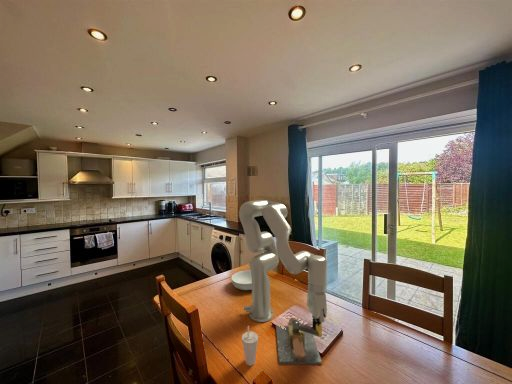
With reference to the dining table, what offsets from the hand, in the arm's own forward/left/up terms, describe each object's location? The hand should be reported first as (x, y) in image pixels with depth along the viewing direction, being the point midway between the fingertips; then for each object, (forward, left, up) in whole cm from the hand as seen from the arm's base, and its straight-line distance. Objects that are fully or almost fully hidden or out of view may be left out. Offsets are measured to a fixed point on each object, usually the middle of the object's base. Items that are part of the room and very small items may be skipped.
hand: (316, 328), depth 88 cm
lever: (-5, -2, -1) cm, 5 cm away
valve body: (-9, 0, -7) cm, 11 cm away
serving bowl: (-34, +51, -7) cm, 62 cm away
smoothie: (-28, -9, -7) cm, 30 cm away
